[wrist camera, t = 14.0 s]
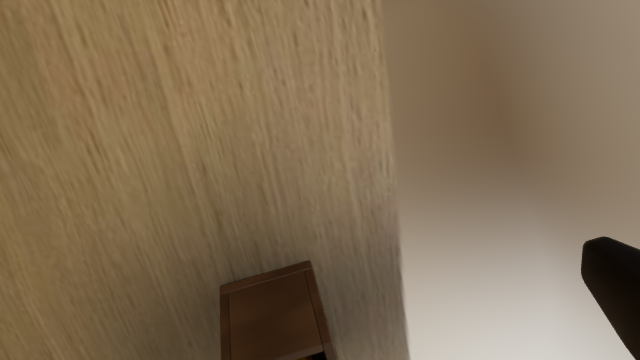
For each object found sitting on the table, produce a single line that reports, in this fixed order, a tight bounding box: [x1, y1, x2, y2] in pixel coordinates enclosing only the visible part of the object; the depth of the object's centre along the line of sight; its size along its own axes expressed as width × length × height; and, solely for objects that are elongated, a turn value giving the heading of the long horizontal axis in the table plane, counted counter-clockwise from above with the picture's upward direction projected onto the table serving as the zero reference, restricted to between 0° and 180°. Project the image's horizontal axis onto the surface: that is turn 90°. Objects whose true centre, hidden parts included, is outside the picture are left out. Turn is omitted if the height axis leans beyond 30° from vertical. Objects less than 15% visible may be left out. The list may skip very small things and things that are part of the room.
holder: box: [220, 261, 339, 360], centre depth 23 cm, size 4×6×5 cm
